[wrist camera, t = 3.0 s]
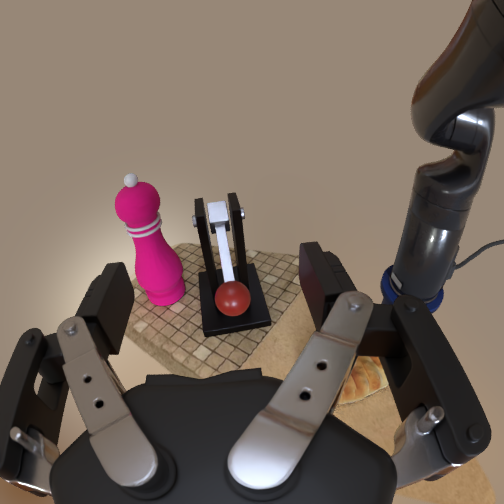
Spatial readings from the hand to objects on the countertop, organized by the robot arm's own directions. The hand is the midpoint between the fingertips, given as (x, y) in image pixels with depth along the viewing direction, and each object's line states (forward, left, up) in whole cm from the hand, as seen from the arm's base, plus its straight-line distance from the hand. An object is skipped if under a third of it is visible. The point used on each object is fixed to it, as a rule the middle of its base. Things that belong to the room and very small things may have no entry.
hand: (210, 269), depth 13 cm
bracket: (-1, -20, -23) cm, 30 cm away
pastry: (-12, -3, -23) cm, 26 cm away
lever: (-1, -16, -13) cm, 20 cm away
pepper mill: (+9, -24, -23) cm, 34 cm away
